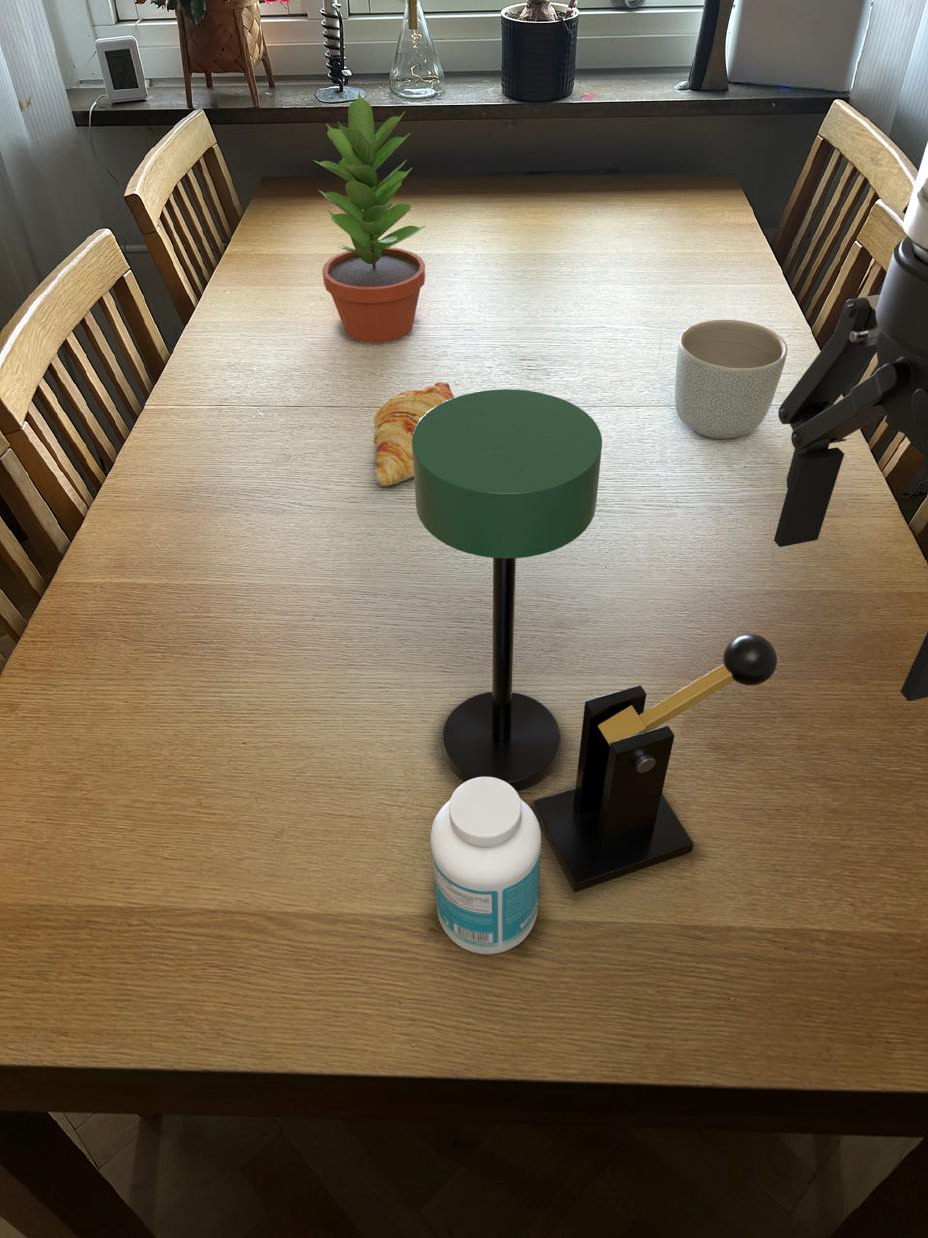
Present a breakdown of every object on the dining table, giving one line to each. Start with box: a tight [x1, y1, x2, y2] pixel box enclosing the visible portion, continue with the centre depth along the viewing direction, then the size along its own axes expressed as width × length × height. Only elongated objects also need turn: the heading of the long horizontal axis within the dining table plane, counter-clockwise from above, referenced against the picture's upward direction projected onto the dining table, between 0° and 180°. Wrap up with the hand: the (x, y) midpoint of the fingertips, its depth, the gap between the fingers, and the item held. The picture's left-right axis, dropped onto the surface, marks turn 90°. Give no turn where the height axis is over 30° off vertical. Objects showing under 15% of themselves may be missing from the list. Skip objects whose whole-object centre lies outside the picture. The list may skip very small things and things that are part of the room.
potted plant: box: [312, 91, 427, 343], centre depth 126 cm, size 15×15×30 cm
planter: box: [674, 319, 788, 440], centre depth 113 cm, size 12×12×11 cm
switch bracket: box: [532, 684, 695, 893], centre depth 69 cm, size 10×8×14 cm
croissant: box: [373, 381, 455, 487], centre depth 112 cm, size 21×10×8 cm, turn 162°
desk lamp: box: [412, 388, 603, 793], centre depth 69 cm, size 12×12×31 cm
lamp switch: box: [598, 633, 778, 745], centre depth 65 cm, size 13×4×4 cm, turn 110°
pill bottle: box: [430, 777, 542, 955], centre depth 64 cm, size 8×7×14 cm
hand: (855, 609), depth 55 cm, fingers open, 13 cm apart
